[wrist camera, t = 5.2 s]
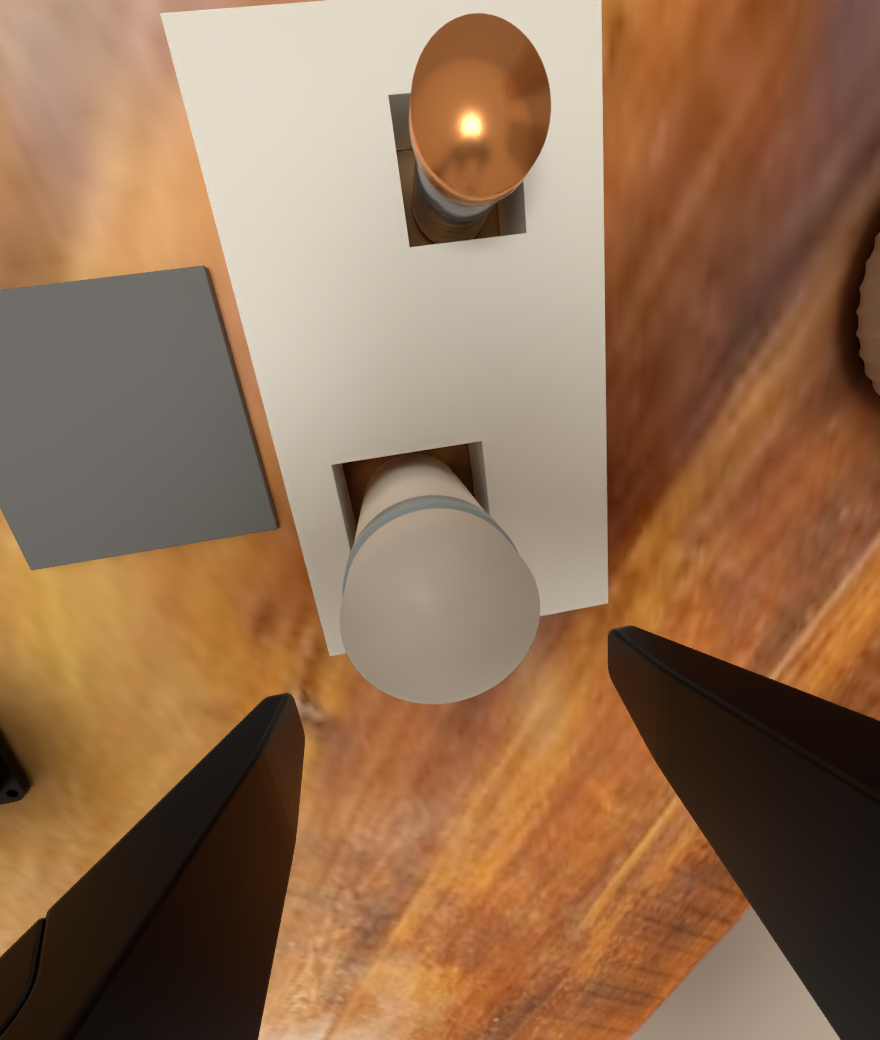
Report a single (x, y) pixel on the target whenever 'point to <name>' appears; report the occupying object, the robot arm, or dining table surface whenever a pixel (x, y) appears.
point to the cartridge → (433, 588)
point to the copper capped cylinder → (474, 122)
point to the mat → (123, 419)
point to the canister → (870, 317)
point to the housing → (409, 275)
